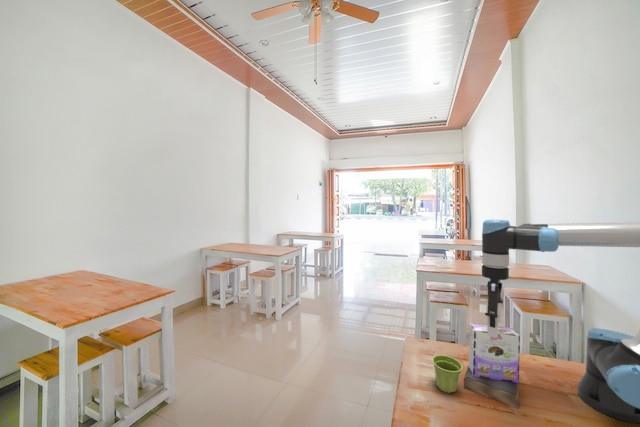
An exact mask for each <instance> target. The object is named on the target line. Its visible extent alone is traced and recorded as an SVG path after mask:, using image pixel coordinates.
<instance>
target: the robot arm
mask: <svg viewBox="0 0 640 427" xmlns="http://www.w3.org/2000/svg"><path fill="white" fill-rule="evenodd" d="M481 237H482V238H481V241H482V242H481V244H482V245H481V250H482V251H481V252H482V253H481V254H479V258H481V263H482V265H481V276H482V277H484V278H487V279H489V280H488V281H487V285H486V286H487V296H488V297H487V298H488V299H487V312H485V313H484V315H485V316H486V317H487V324H486V325H487V335H488V336H492V337H496V338H498V327H499V323H501V304H503V303H504V302H503V301H504V300H503V299H502V297H501V293H502V290H503V289H502V288H503V282H501V281H505V280H509V273H510V272H509V271H510V270H509V266H510V250H518V251H530V252H531V251H534V252H542V253H545V252H546V253H547V252H548V253H549V252H550V253H551V252H553V253H554V252H556V251H558V249H559V247H594V248H595V247H597V248H598V247H599V248H600V247H602V248H603V247H604V248H607V247H609V248H640V221H635V222H629V221H628V222H627V221H626V222H625V221H624V222H588V223H587V222H586V223H585V222H584V223H583V222H580V223H579V222H577V223H573V222H571V223H523V224H520V225H518V226H516V225H515V226H514V225H511V224H510V221H509V220H507V219H486V220H484V221H483V222H482V232H481ZM586 339H587V340H586V359H585V360H586V361H585V373H584V374H583V376H582V377H581V379H580V381H579V382H578V385H577V394H578V397H579V398H580V399H581V400H582V401H583V402H585V403H586V404H587V405H588V406H590V407H591V408H593V409H595V410H597V412H601V413H603V414H604V415H606V416H610V417H611V418H614V419H617V420H620V421H623V422H628V423H633V424H640V329H639V331H638V332H637V333H636V334H635V336H633V335H631V334H627V333H624V332H619V331H615V330H609V329H605V328H597V327H596V328H595V327H594V328H591V329H588V331H587V336H586Z"/></svg>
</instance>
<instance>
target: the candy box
mask: <svg viewBox="0 0 640 427" xmlns="http://www.w3.org/2000/svg"><path fill="white" fill-rule="evenodd" d="M487 325H488V324H486V325H485V324H476V323H469V334H468V335H469V338H468V339H469V340H468V365H469V369H470V371H471V373H472V375H473V376H474V377H481V378H488V379H494V380H501V381H508V382H515V383H519V384H520V350H521V349H520V347H521V346H520V345H521V343H520V342H521V335H520V333H518V332H517V331H516V330H515V329H514V328H513V327H505V326H498V338H496V337H492V336H488V335H487Z"/></svg>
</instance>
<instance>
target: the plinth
mask: <svg viewBox="0 0 640 427" xmlns="http://www.w3.org/2000/svg"><path fill="white" fill-rule="evenodd" d="M466 367H467V368H466V370H465V374H464V377H463V389H466V390H468V391H471V392H473V393H475V394H479V395H480V396H484V397H487V398H488V399H489V398H490V399H492V400H495V401H497V402H499V403H503V404H504V405H508V406H510V407H513V408H516V409H519V395H520V394H519V392H520V391H519V390H520V388H519V385H520V382H519V383H515V382H508V381H501V380H494V379H488V378H481V377H474V376H473V375H472V373H471V371H470V369H469V364H468V365H467V366H466Z"/></svg>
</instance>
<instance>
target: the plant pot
mask: <svg viewBox="0 0 640 427" xmlns="http://www.w3.org/2000/svg"><path fill="white" fill-rule="evenodd" d="M431 361H432V363H433V367H434V372H435V380H436V386H437V387H438V388H439V390H440V391H442V392H445V393H447V394H450V393H455V392H456V391H457V389H458V388H457V387H458V381H459V377H460V374H461V371H463V364H462V363H461V361H459V360H458V359H456V358H454V357H453V356H449V355H445V354H437V355H434V356H433V357H432V359H431Z"/></svg>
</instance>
